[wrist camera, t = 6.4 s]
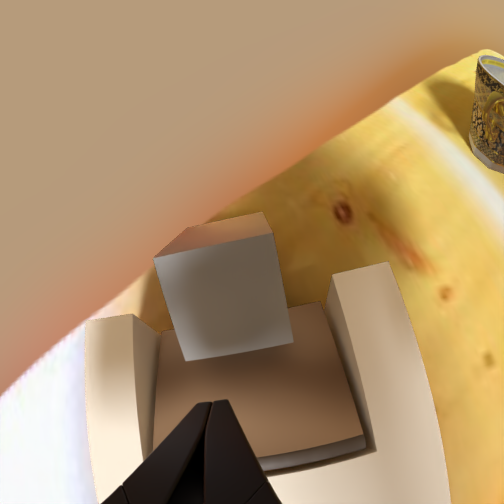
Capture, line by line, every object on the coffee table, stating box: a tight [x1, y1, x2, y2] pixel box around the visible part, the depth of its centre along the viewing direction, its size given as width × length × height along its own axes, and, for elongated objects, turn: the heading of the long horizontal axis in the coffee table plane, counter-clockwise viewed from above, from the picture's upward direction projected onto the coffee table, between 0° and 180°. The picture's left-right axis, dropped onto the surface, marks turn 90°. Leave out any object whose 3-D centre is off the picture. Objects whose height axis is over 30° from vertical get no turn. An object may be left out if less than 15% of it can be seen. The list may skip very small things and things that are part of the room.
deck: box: [85, 261, 451, 504], centre depth 13 cm, size 14×16×6 cm
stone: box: [153, 212, 294, 361], centre depth 17 cm, size 5×5×8 cm
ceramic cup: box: [469, 55, 504, 174], centre depth 21 cm, size 13×10×10 cm
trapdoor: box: [153, 301, 366, 471], centre depth 14 cm, size 9×9×1 cm
